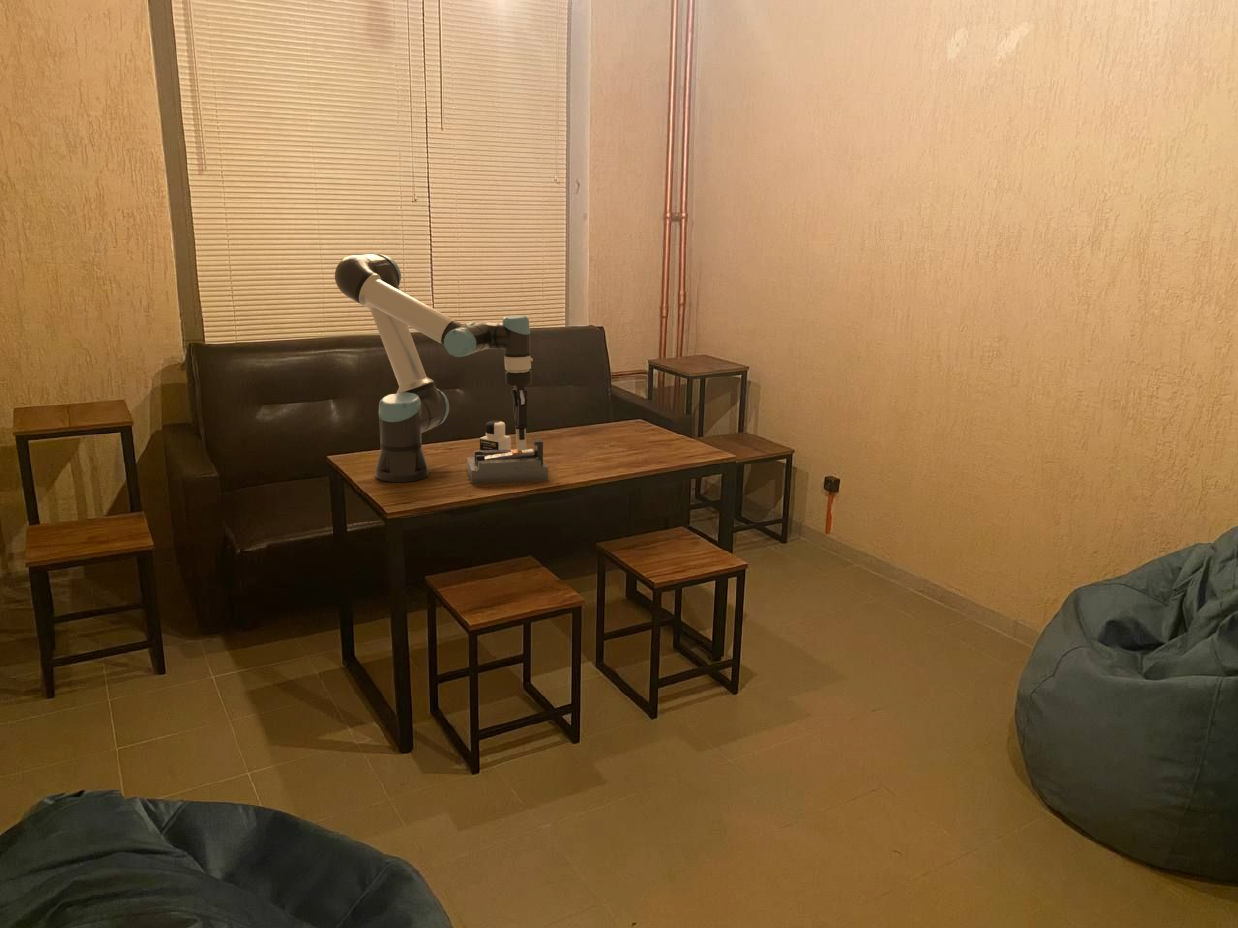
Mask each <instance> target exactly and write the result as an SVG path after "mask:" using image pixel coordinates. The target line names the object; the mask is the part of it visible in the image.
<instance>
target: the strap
mask: <svg viewBox="0 0 1238 928" xmlns="http://www.w3.org/2000/svg"><path fill="white" fill-rule="evenodd" d="M511 449H512V450H510V452H508V453H502V454H496V455H489V456H485V461H489V460H504V459H510V458H516V457H523V456H529V455H534V451H533V449H534V448H533V449H531V448H527V449H528V450H517V448H515V449H514V448H511Z"/></svg>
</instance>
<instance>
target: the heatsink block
mask: <svg viewBox="0 0 1238 928" xmlns="http://www.w3.org/2000/svg"><path fill="white" fill-rule="evenodd" d="M531 442H532V444H533V445H534V448H531V447H530V449H533V451H534V455H529V456H523V457H516V458H510V459H504V460H489V461H485V456H489V455H496V454H502V453H508V452H510V450H512V449H513V448H511V449H506V450H480V449H479V450H473V456H470V457H469V456H468V457H466V471H467V473H468V476H469V479H470V483H471V485H478V484H498V483H499V484H500V483H517V482H518V483H521V482H522V483H523V482H538V481H539V482H541V481H549V467H548V465H547V463H546V462H545V461H544V441H543V439H541V437H531ZM528 449H529V448H527V450H528Z"/></svg>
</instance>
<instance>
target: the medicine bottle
mask: <svg viewBox="0 0 1238 928" xmlns="http://www.w3.org/2000/svg"><path fill="white" fill-rule="evenodd" d="M506 449H512V436H510V435H506V424H505V422H503V421H501V420H490V421H487V422H486V423H485V435H484V436H482V437H480V438H479V451H480V450H506Z"/></svg>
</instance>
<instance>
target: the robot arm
mask: <svg viewBox="0 0 1238 928" xmlns="http://www.w3.org/2000/svg"><path fill="white" fill-rule="evenodd" d="M334 280H335V284H336V286H337V288H338V289H339V291H340V292H341V293H342V294H343V295H344V296H346V297H347V298H349V299H351V300H353V301H354V302H355V303H358V304H360V305H362V306H364V308H367V309H369V310H370V312H371V314H372V318H373V320H374V323H375V326H376V328H377V330H378V331H377V332H378V333H379V336H380V339H381V341H382V344H383V347H384V350H385V352H386V355H387V358H388V360H389V362H390V366H391V368H392V371H393V373H394V377H395V379H396V381H397V384H398V389H397V391H396V393H390V394H387V395H385V396H384V397H382V398H381V399H380V400H379V403H378V418H379V419H378V420H379V421H378V422H379V439H380V451H379V455H378V457H377V462H376V465H375V470H374V471H375V472H374V473H375V477H376V478H377V479H378V480H380V481H382V482H383V481H384V482H388V483H389V482H390V483H407V482H415V481H419V480H422V479H425V478H427V477H428V476H429V473H430V472H429V464H428V462H427V459H426V457H425V454H424V451H423V447H422V444H423V443H422V441H423V440H422V434H423V433H425V432H427V431H429V430H432V429H435V428H437V427H438V426H440V425H441V424H443V423H444V422H445V420H446V419H447V417H448V415H449V413H450V412H449V411H450V404H449V400H448V397H447V395H446V394H445V393H444V392H443V391H441V390H440V389H438V388H437V387H436V386H437V385H436V384H435V381H434V380H433V379H431V378H430V377H428V376H427V374H426V372H425V369H424V366H423V363H422V361H421V359H420V355H419V353H418V350H417V348H416V344H415V342H414V339H413V336H412V333H411V331H410V329H409V327H410V328H412V330H415V331H416V332H419V333H420V334H422V335H424V336H427V337H428V338H430V339H431V340H433V341H435V342H437V343H439V344H441V345H443V346H444V348H445V350H446V352H447V353H448V354H449V355H451V356H452V357H455V358H460V357H462V358H463V357H467V356H469V355H471V354H475V353H478V352H481V351H485V350H503V353H504V355H503V356H504V357H503V358H504V359H503V361H504V370H505V372H504V373H505V374H504V375H505V376H504V377H505V384H506V385H508V386H512V387H513V389H511V396H512V404H513V405H512V406H513V418H514V419H513V423H514V424H515V426H514V430H515V437H516V439H515V440H516V442H515V443H516V449H517V450H527V449H528V448H527V430H526V429H527V427H528V413H527V412H528V390H526V388H525V386H529V385H531V384H532V382H533V375H532V371H531V369H532V362H533V361H534V359H533V358H532V357H531V354H532V352H531V330H530V327H531V326H530V319H529V318H528V317H527V316H525V315H506V316H504V317H503V318H502V322H485V321H484V322H481V321H474V322H473V321H472V322H467V323H466V324H465V325H464V324H462V323H461V322H458V321H457V320H455V319H453V318H451V317H450V316H447V314H444V313H442V312H440V311H439V310H437V309H434V308H432V307H431V306H429V305H427V304H426V303H424V302H422V301H420V300H418V299H416V298H414V297H412V296H411V295H409V294H407V293H405V292H403V291H402V290H401V289H400V287H399V286H400V285H401V281H402V274H401V269H400V268H399V266H398V264H397V262H396V261H395V260H394V259H393V258H391V257H390V256H387V255H385V254H380V253H370V254H359V255H357V254H356V255H355V254H354V255H350V256H346V257H344V258H343V259H341V261H339V263H338V264H337V265H336V267H335V272H334Z"/></svg>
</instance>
